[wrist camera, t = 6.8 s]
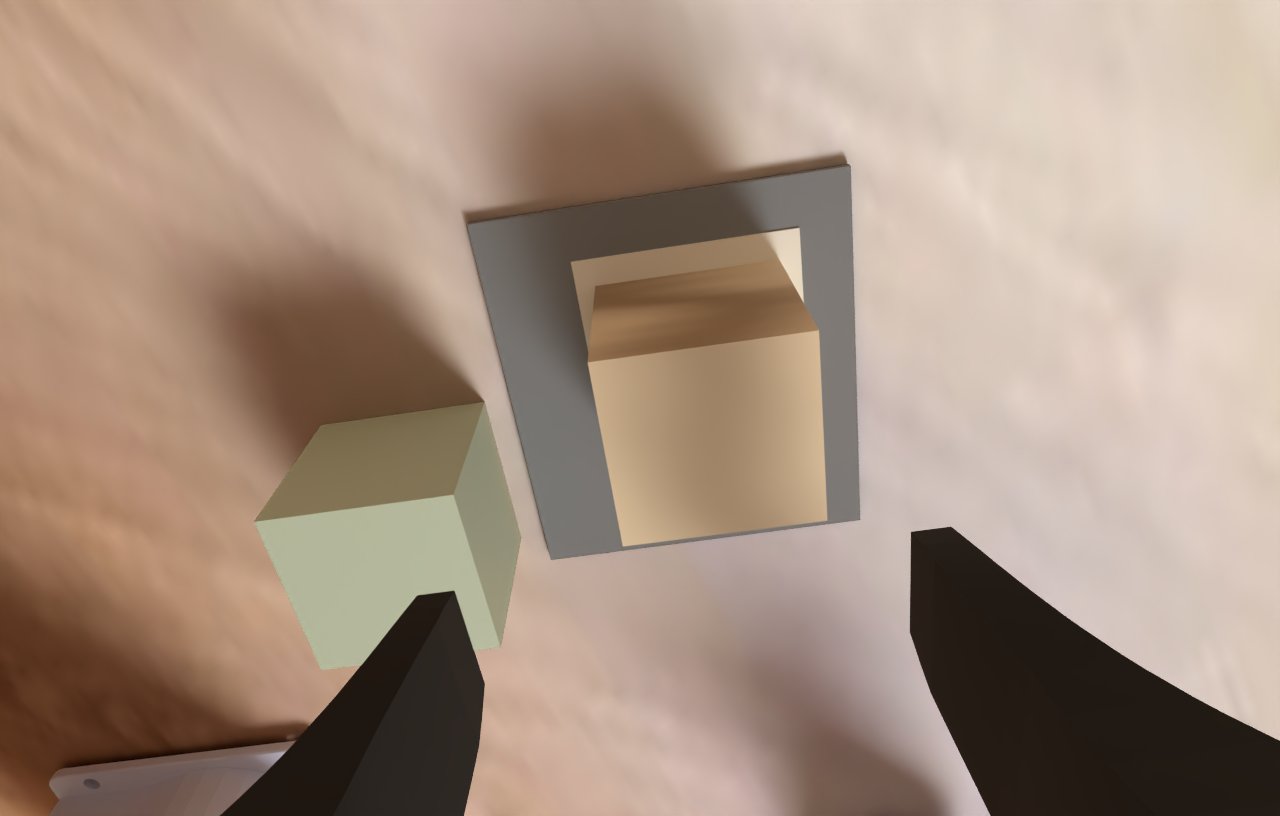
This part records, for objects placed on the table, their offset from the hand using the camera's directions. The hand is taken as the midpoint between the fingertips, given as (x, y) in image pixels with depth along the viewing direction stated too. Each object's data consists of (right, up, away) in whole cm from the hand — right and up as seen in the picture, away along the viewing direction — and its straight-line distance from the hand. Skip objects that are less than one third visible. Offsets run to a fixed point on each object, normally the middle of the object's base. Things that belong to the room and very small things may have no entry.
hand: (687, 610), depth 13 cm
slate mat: (0, +4, +8) cm, 9 cm away
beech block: (+1, +5, +8) cm, 9 cm away
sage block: (-7, +1, +10) cm, 12 cm away
